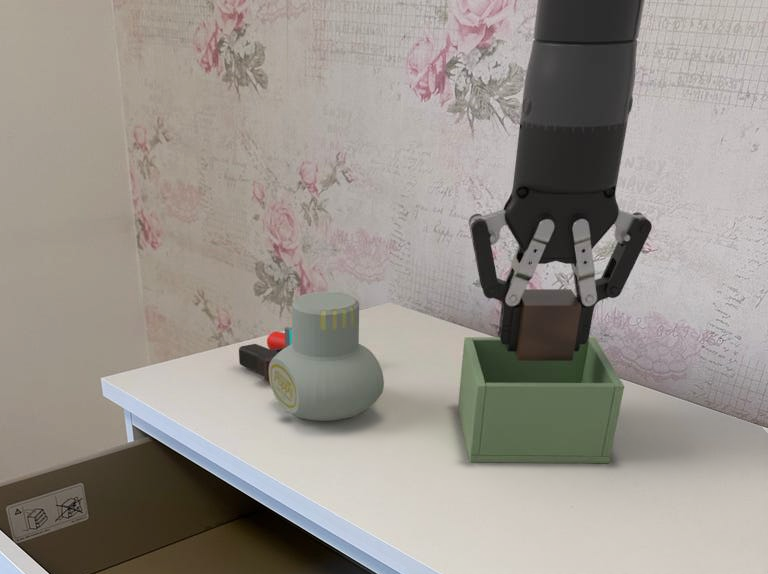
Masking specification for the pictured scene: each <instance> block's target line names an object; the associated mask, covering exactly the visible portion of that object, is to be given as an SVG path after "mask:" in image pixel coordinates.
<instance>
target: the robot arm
mask: <svg viewBox="0 0 768 574" xmlns="http://www.w3.org/2000/svg"><path fill="white" fill-rule="evenodd" d="M645 2H646V1H645V0H537V3H536V13H535V21H534V30H533V39H534V40H533V41H532V45H531V51H530V56H529V60H528V64H527V68H526V73H525V78H524V86H523V94H522V102H521V112H520V113H521V114H520V119H519V129H518V138H517V145H516V146H517V147H516V155H515V166H514V174H513V182H512V189H511V193H510V195H509V197H508V199H507V201H506V203H504V206H503V209H501V210H497V211H494V212H491V213H488V214H485V215H482V214H481V213H475V214H473V215H472V216H470V218H469V220H468V226H469V231H470V237H471V242H472V245H473V252H474V257H475V263H476V268H477V273H478V279H479V284H480V287H481V289H482V293H483V296H484V297H485V298H487V299H495V300H498V301H499V302H501V308H500V316H499V325H498V335H499V336H498V337H500V339H501V342H502V344H505V346H506V349H507V351H510V352H516V350H517V343H518V335H519V327H520V319H521V311H522V306H521V304H520V300H521V298H522V296H523V293H524V291H525V289H527V286H528V284H529V283H530V281H531V280H532V278H533V276H534V275H535V272H536V269H537V267H538V265H540V264H541V265H546V264H550V263H554V262H559V263H562V264H565V265H568V264H569V265H570V266H571V270H572V275H573V281H574V288H575V293H576V295H575V296H576V298H577V300H578V301H579V303H580V304H581V312H580V318H579V324H578V331H577V337H576V343H575V349H574V351H579V348H580V344H586V342H587V340H588V339H589V337H590V334H591V326H592V322H593V316H594V310H595V306H596V305H597V303H599V302H600V301H602V300H605V299H608V298H610V299H615V298H617V297H619V296H620V295H621V293H622V291H623V289H624V287H625V285H626V283H627V281H628V279H629V276H630V275H631V273H632V271H633V269H634V267H635V264H636V262H637V260H638V258H639V256H640V254H641V252H642V250H643V248H644V246H645V244H646V241H648V240H647V239H648V238H649V235H650V233H651V231H652V228H653V225H652V222H651V221H650V220H649V219H648V218H647V217H646V216H645V215H644V214H643V213H641V212H638V211H637V212H633V213H630V212H627V211H624V210H621V209H619V205H618V202H617V197H616V191H617V186H618V179H619V174H620V168H621V162H622V156H623V150H624V145H625V139H626V133H627V127H628V121H629V117H630V113H631V112H632V108H633V102H634V97H633V96H634V95H633V94H634V87H635V79H636V67H637V50H638V40H637V39H638V38H639V36H640V30H641V24H642V18H643V14H644V13H643V12H644V8H645V7H644V6H645ZM614 225H615V231H614V238H615V240H616V241H617V243H616V245H615V248H614V249H613V251H612V254H611V256H610V258H609V259H608V262H607V264H606V267H605V269H604V271H603V273H602V275H601V277H600V278H597V279H596V278H595V275H596V271H595V270H596V269H595V263H594V257H593V249H594V248H595V246H596V245H597V244H598V243H599V242H600V241H601V239H602V238H603V237H604V236H605V235H606V234H607V232H609V230H610V229H611V228H612V227H613V226H614ZM504 226H507V227H508V229H509V230H510V232H511V234H512V236H513V238H514V239H515V241H516V243H517V244H518V245H517V247H516V250H515V252H514V255H513V257H512V260H511V264H510V268H509V271H508V273H507V275H506V277H505V280H503V279H500V278H498V275H497V271H496V265H495V259H494V254H493V248H492V246H493V245H495V244H497V243H498V241H499V240H500V236H501V235H500V233H501V230H502V229H503V227H504Z"/></svg>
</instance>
